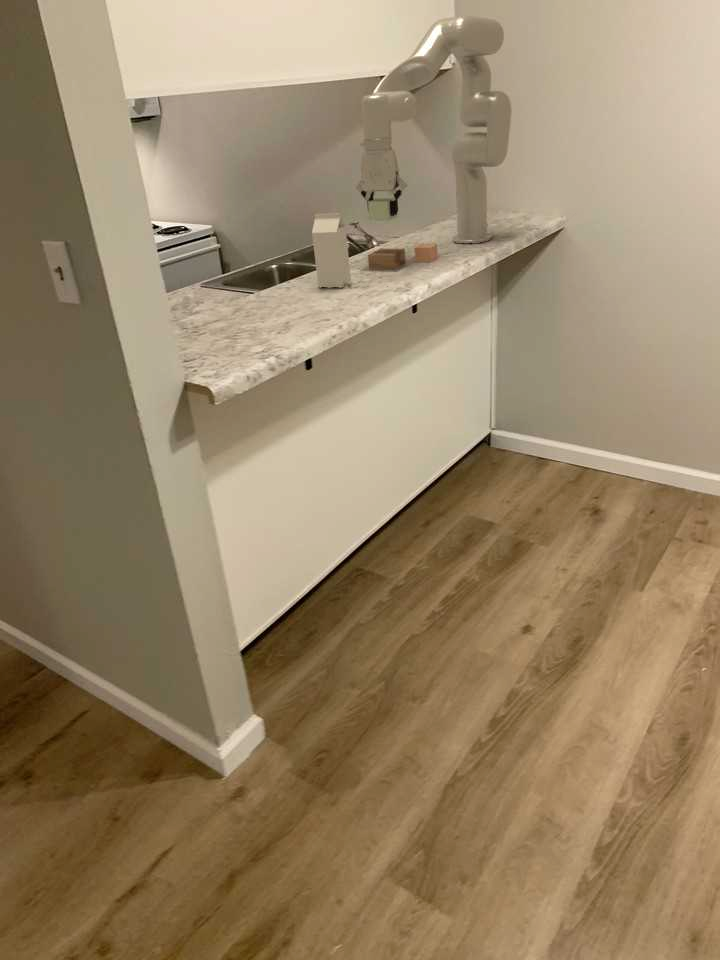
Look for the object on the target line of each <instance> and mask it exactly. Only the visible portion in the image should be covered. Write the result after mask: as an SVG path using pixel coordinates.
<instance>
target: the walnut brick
mask: <svg viewBox="0 0 720 960" xmlns="http://www.w3.org/2000/svg"><path fill="white" fill-rule="evenodd" d="M367 260H368V266H369V269H388V270H394V269H396V268H397V267H399V266H401V265H403V264H404V263H406V262H405V261H406V251H405V248H378V249H376V250H375V251H373V252H370V253H369V254H367Z"/></svg>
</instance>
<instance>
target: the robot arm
mask: <svg viewBox="0 0 720 960" xmlns="http://www.w3.org/2000/svg"><path fill="white" fill-rule="evenodd" d="M504 39H505V35H504V29H503V26H502V25H501V23H500V22H499V21H498V20H496V19H493V18H485V17H478V16H473V15H472V16H471V15H460V16H452V17H446V18H441V19H438V20H436V21H435V22H434V23H433V24H432V25H431V26H430V28H429V29H428V30H427V32H426V33H425V35H424V36H423V38H422V39H421V40H420V42H419V43H418V45H417V46H416V48H415V50H413V52H412V54H411V55H410V56H409V57H408V58H407V59H405V60H404V61H402V62H401V63H400V64H398V65H397V66H396V67H395V68H393V69H392V70H391V71H389V72H388V73H386V75H385V76H383V78H382V79H381V80H380V82H379V83H378V84H377V86H376V87H375V88H374V90H373V91H372V93H371V94H367V95H364V96H363V97H362V99H361V115H362V116H361V117H362V131H363V141H361V142H360V147H361V148H363V149H364V152H362V153H361V162H360V181H359V182H358V183H357V185H356V186H355V189H356V191H358V192H359V193H360V194H361V196H362V197H363V198H364V199H365V201H366V203H367V207H368V202H369V201H371V200H374V199H375V198H374V197H375V193H376V192H388V195H389V197H390V198H391V201H390V215H391V216H394V215H396V214H397V215H398V212H399V203H398V201H399V199H400V197H401V196H402V195H403V193H404V192H405V190H406V189H407V188H408V184H407V183H406V182H405V180H403V179H402V177H401V176H400V169H399V163H398V158H397V157H398V156H397V154H396V150H395V149H393V138H392V137H393V136H392V133H393V132H392V123H403V122H404V123H405V122H407V121H410V120H411V119H412V118H413V117H415V115H416V113H417V110H418V100H417V99H416V96H415V95H414V94H413V93H412V92H410V91H413V90H415V89H417V88H420V87H423V86H424V85H427V84H428V83H430V82H431V81H432V80H434V79H435V78H436V76H437V74H438V73H439V72H440V70H441V69H442V67H443V66H444V64H445V63H446V61H447V59H449V56H450V55H453V57H454V58H455V59H456V61H457V63H458V65H459V67H460V69H461V70H460V71H461V78H462V79H461V91H460V93H461V94H460V107H459V120H460V122H461V124H462V126H464V127H467V128H486V132H480V131H479V132H477V131H476V132H465V133H462V134H459V135H457V137H455V139H454V140H453V142H452V144H451V157H452V162H453V167H454V174H455V175H454V176H455V192H456V193H455V196H456V197H455V200H456V201H455V202H456V231H457V232H456V233H457V234H456V235H453V236H452V242H453V243H455V242H456V243H457V244H462V243H465V244H467V243H468V245H469V243H472V244H479V243H480V242H481V243H484V241H485V242H488V240H489V241H491V240H492V239H491V238H492V237H493V234H491V233H490V232H488V226H489V222H488V218H487V217H488V214H487V213H488V211H487V210H488V206H487V205H488V201H487V200H488V199H487V190H488V189H487V188H488V187H487V185H488V184H487V176H486V174H485V172H484V169H483V168H494V167H495V168H496V167H499V166H500V165H502V164H503V163H504V161H505V160H506V157H507V154H508V148H509V140H510V133H511V124H512V123H511V122H512V103H511V100H510V97H509V96H508V95H507V94H506V92H503V91H500V90H492V91H491V88H492V87H491V84H492V72H491V67H490V65H489V63H488V61H487V59H486V57H485V56H491V55H494V54H497V53H498V52H499V51H500V49H501V48H502V46H503V44H504ZM397 188H398V189H397ZM367 212H368V213H369V210H368V209H367ZM490 239H491V240H490ZM456 243H455V244H456Z"/></svg>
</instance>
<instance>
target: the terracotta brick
mask: <svg viewBox="0 0 720 960" xmlns="http://www.w3.org/2000/svg"><path fill="white" fill-rule="evenodd" d="M438 258H439V257H438V243H420V244H418V245H416V246H415V247H414V260H415V261H414V262H415V263H432V262H434V261H435V260H438Z"/></svg>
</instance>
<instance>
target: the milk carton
mask: <svg viewBox="0 0 720 960" xmlns="http://www.w3.org/2000/svg"><path fill="white" fill-rule="evenodd" d="M346 229H347V227H346V225H345V223H344V221H343V219H342V218H341V214H340V212H337V213H316V214H314V222H313V227H312V230H311V234H312V235H311V236H312V245H313V253H314V259H315V269H316V278H317V285H318V286H317V287H318V288H319V287H320V288H319V289H322V288H321V287H328V288H327V289H330V288H329V287H343V288H344V287H345V286H347V285H346V284H347V282H349V281H350V280H351V279H352V278H351V267H350V258H349V249H348V247H349V246H348V236H347V230H346Z"/></svg>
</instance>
